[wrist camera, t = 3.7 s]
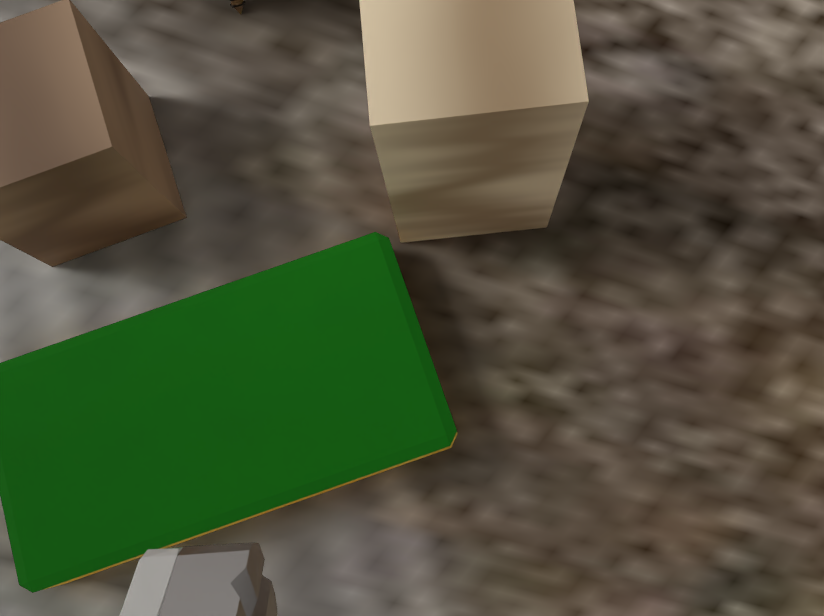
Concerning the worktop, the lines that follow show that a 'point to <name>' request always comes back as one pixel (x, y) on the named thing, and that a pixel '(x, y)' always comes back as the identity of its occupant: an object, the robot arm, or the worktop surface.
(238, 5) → the game die
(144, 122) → the walnut block
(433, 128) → the maple block
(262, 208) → the worktop surface
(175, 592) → the robot arm
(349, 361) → the dish sponge
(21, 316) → the worktop surface
